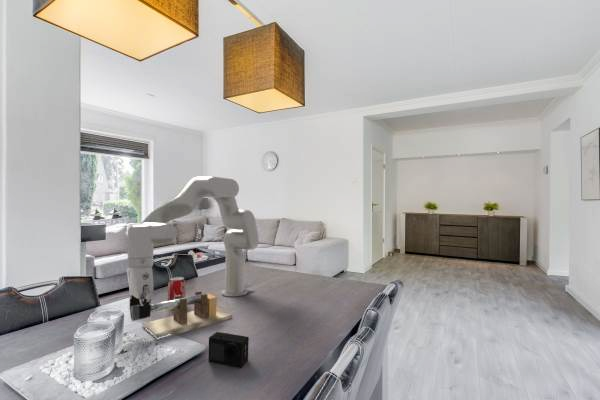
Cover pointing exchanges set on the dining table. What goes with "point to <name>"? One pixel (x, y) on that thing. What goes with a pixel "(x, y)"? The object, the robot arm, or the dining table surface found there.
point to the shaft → (164, 306)
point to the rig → (186, 318)
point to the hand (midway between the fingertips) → (139, 313)
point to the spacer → (211, 305)
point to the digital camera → (228, 349)
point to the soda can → (176, 288)
